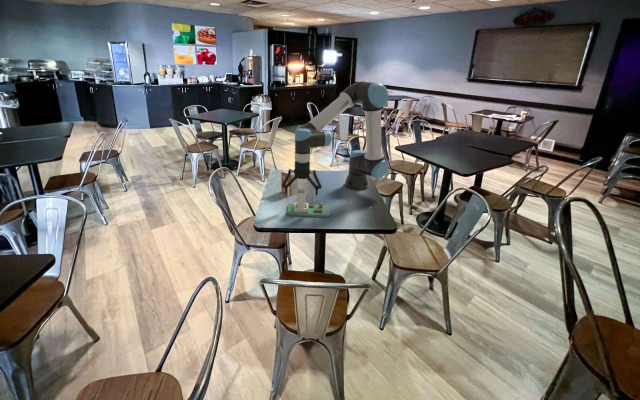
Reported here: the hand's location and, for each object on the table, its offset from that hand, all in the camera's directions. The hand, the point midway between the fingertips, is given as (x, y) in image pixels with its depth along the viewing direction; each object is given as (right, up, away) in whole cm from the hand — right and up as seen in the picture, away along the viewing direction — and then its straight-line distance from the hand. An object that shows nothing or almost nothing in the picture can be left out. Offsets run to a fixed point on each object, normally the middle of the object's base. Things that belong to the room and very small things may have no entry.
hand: (301, 200), depth 167 cm
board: (+4, -6, +3) cm, 7 cm away
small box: (-8, +4, +25) cm, 27 cm away
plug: (0, -5, +2) cm, 5 cm away
